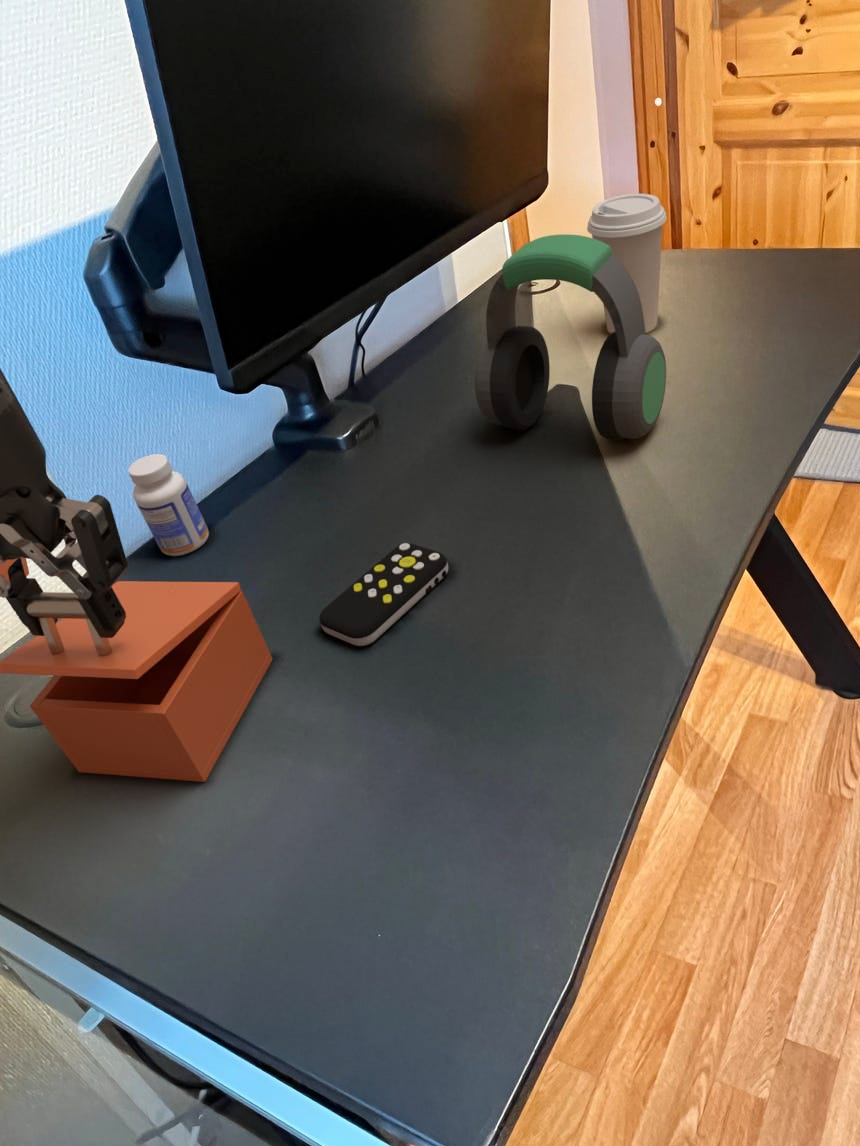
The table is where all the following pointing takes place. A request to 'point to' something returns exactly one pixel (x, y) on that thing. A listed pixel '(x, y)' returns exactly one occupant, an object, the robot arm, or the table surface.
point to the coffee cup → (633, 244)
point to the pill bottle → (167, 506)
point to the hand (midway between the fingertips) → (79, 628)
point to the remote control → (383, 594)
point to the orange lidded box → (162, 704)
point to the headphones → (520, 356)
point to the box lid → (142, 641)
